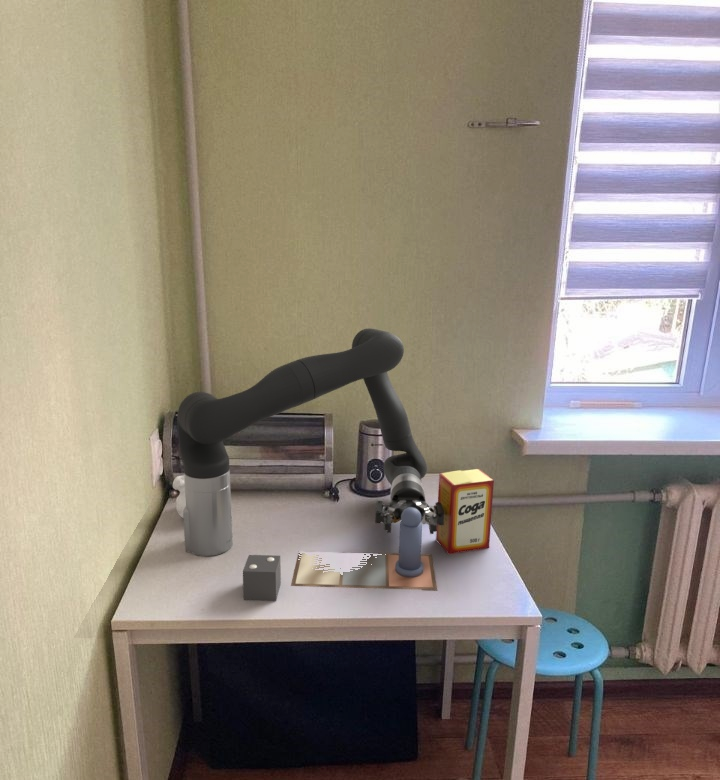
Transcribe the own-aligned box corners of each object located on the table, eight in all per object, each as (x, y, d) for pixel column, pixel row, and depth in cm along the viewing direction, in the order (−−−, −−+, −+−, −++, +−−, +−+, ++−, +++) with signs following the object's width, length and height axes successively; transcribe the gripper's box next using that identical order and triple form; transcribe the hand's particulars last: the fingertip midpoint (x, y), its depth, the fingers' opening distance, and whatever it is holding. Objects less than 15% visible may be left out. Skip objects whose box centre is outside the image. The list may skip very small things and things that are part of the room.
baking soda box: (474, 534, 149) (479, 467, 145) (489, 547, 143) (494, 478, 139) (436, 539, 146) (439, 471, 142) (448, 554, 140) (452, 483, 136)
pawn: (395, 577, 131) (397, 514, 127) (395, 562, 136) (396, 501, 133) (424, 577, 131) (426, 514, 127) (422, 563, 136) (425, 502, 132)
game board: (290, 588, 127) (290, 585, 127) (298, 553, 140) (298, 550, 140) (437, 592, 127) (437, 589, 127) (431, 556, 140) (431, 554, 140)
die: (243, 600, 122) (242, 570, 121) (249, 582, 128) (248, 554, 127) (276, 601, 122) (275, 571, 121) (280, 583, 128) (280, 555, 126)
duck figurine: (193, 513, 162) (161, 481, 158) (217, 494, 162) (186, 461, 158) (189, 536, 150) (155, 502, 147) (215, 516, 150) (181, 481, 147)
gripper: (375, 478, 147) (375, 510, 131) (440, 480, 147) (447, 512, 131) (375, 510, 149) (374, 545, 133) (438, 511, 149) (445, 547, 133)
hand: (410, 529), depth 132 cm, fingers open, 8 cm apart
